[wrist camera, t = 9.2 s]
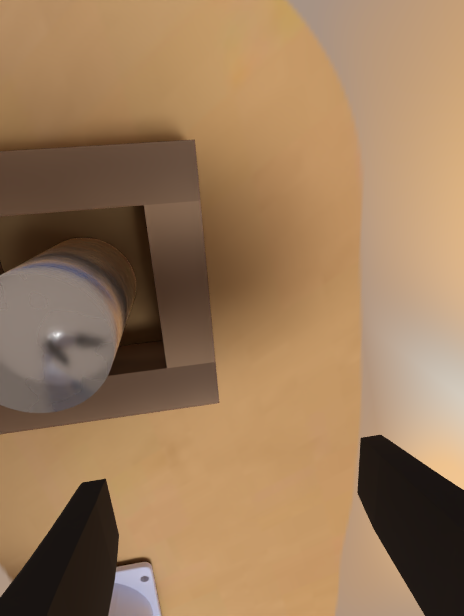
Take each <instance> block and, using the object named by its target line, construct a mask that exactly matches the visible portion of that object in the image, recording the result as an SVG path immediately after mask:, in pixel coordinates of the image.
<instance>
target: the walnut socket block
mask: <svg viewBox="0 0 464 616" xmlns="http://www.w3.org/2000/svg"><path fill="white" fill-rule="evenodd" d="M140 205H144V211H145V218H146V225H147V232H148V239H149V246H150V253H151V260H152V267H153V273H154V280H155V287H156V294H157V301H158V308H159V315H160V322H161V329H162V336H163V341H157V342H149V343H141V344H132V345H124V346H118V349H117V352H116V355H115V358H114V361H113V364H112V367H111V369H110V372H109V374H108V376H107V378H106V380H105V382H104V383H103V384H102V386H101V387H100V388H99V389H98V390H97V391H96V392H95V393H94V394H93V395H92V396H91V397H89V398H88V399H87V400H85V401H84V402H82V403H80V404H78V405H76V406H74V407H71V408H68V409H65V410H61V411H57V412H50V413H29V412H23V411H18V410H14V409H10V408H7V407H5V406H2V405H0V434H5V433H12V432H19V431H26V430H33V429H40V428H47V427H55V426H62V425H69V424H76V423H83V422H90V421H97V420H104V419H111V418H118V417H125V416H132V415H139V414H146V413H153V412H160V411H167V410H174V409H181V408H188V407H195V406H202V405H209V404H216V403H219V395H218V384H217V374H216V363H215V352H214V341H213V331H212V320H211V309H210V298H209V288H208V277H207V266H206V255H205V245H204V234H203V223H202V212H201V202H200V191H199V180H198V169H197V159H196V148H195V140H181V141H164V142H148V143H131V144H114V145H98V146H81V147H64V148H48V149H31V150H14V151H0V217H1V216H13V215H26V214H39V213H51V212H64V211H77V210H89V209H102V208H115V207H127V206H140ZM2 274H4V273H3V269H2V266H1V262H0V275H2Z"/></svg>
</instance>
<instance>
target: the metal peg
mask: <svg viewBox="0 0 464 616" xmlns="http://www.w3.org/2000/svg"><path fill="white" fill-rule="evenodd" d="M136 289H137V285H136V277H135V274H134V271H133V268H132V266H131V264H130V263H129V261H128V260H127V258H126V257H125V256H124V255H123V254H122V253H121V252H120V251H119V250H118V249H116V248H115V247H114V246H112V245H110V244H108V243H106V242H104V241H101V240H98V239H94V238H85V237H80V238H73V239H69V240H66V241H63V242H61V243H59V244H57V245H55V246H54V247H52V248H50V249H48V250H46V251H44V252H42V253H41V254H39V255H37V256H35V257H33V258H31V259H29V260H28V261H26V262H24V263H22V264H20V265H18V266H16V267H15V268H13V269H11V270H9V271H7V272H5V273H4V274H2V275H0V405H2V406H5V407H7V408H10V409H14V410H18V411H23V412H29V413H50V412H57V411H61V410H65V409H68V408H71V407H74V406H76V405H78V404H80V403H82V402H84V401H85V400H87V399H88V398H89V397H91V396H92V395H93V394H94V393H95V392H96V391H97V390H98V389H99V388H100V387H101V386H102V384H103V383H104V382H105V380H106V378H107V376H108V374H109V372H110V369H111V367H112V364H113V361H114V358H115V355H116V352H117V349H118V346H119V343H120V341H121V338H122V335H123V332H124V329H125V326H126V323H127V320H128V317H129V314H130V311H131V308H132V305H133V303H134V300H135V296H136Z"/></svg>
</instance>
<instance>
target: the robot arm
mask: <svg viewBox="0 0 464 616" xmlns="http://www.w3.org/2000/svg"><path fill="white" fill-rule="evenodd" d="M358 495H359V497H360V499H361V501H362V504H363V506H364V509H365V511H366V513H367V515H368V517H369V519H370V522H371V524H372V526H373V528H374V530H375V532H376V534H377V535H378V537H379V539H380V540H381V542H382V544H383V545H384V547H385V549H386V551H387V552H388V554H389V556H390V557H391V559H392V561H393V563H394V564H395V566H396V568H397V569H398V571H399V573H400V574H401V576H402V578H403V579H404V581H405V583H406V584H407V586H408V588H409V589H410V591H411V593H412V594H413V596H414V598H415V600H416V601H417V603H418V605H419V606H420V608H421V610H422V611H423V613H424V615H425V616H464V490H463V489H461V488H459V487H458V486H456V485H455V484H453V483H452V482H450V481H449V480H447V479H445V478H444V477H443V476H441V475H440V474H438V473H437V472H435V471H433V470H432V469H431V468H429V467H428V466H426V465H425V464H423V463H422V462H420V461H419V460H417V459H416V458H414V457H413V456H412V455H410V454H409V453H407V452H406V451H404V450H402V449H401V448H400V447H398V446H397V445H395V444H394V443H393V442H391V441H390V440H388V439H386V438H385V437H383V436H382V435H376V436H370V437H363V438H361V443H360V460H359V478H358ZM118 541H119V533H118V529H117V525H116V521H115V516H114V512H113V508H112V503H111V499H110V495H109V490H108V486H107V482H106V479H102V480H96V481H89V482H83V483H82V484H81V485H80V486H79V487H78V489H77V490H76V492H75V493H74V495H73V496H72V498H71V499H70V501H69V502H68V504H67V506H66V507H65V509H64V510H63V512H62V513H61V515H60V516H59V518H58V519H57V520H56V522H55V523H54V525H53V526H52V528H51V529H50V531H49V532H48V534H47V535H46V536H45V538H44V539H43V541H42V542H41V543H40V545H39V546H38V548H37V549H36V551H35V552H34V553H33V555H32V556H31V558H30V559H29V560H28V562H27V563H26V564H25V566H24V567H23V569H22V570H21V571H20V573H19V574H18V575H17V576H16V578H15V579H14V580H13V582H12V583H11V584H10V585H9V587H8V588H7V589H6V591H5V592H4V593H3V595H2V596H1V597H0V616H162V615H161V610H160V605H159V600H158V594H157V589H156V584H155V579H154V574H153V569H152V566H151V564H150V563H148V562H140V563H135V564H129V565H124V566H119V567H116V565H117V553H118Z"/></svg>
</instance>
